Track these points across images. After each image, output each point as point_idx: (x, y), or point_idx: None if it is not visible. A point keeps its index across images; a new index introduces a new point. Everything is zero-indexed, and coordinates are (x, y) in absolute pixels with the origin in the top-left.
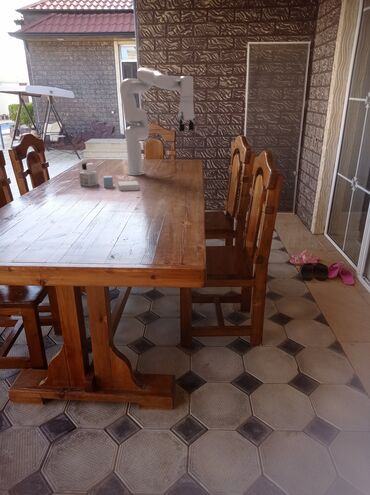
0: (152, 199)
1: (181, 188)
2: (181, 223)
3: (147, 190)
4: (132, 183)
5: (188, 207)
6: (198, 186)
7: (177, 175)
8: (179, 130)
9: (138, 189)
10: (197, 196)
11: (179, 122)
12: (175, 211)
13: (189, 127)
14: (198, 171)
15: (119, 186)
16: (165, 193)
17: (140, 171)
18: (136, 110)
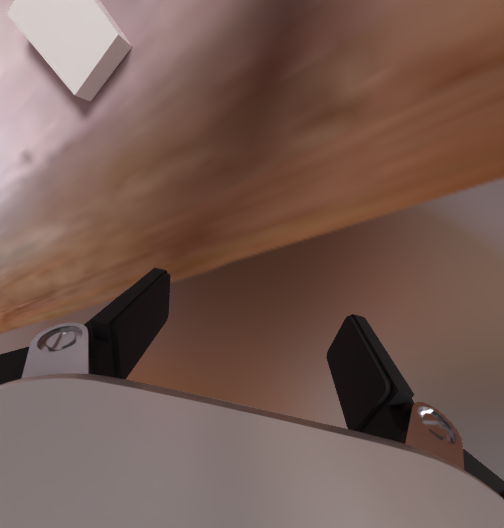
0: (43, 205)
1: (181, 228)
2: None
3: (103, 138)
4: (70, 52)
5: (56, 295)
6: (225, 262)
7: (384, 122)
8: (154, 268)
9: (88, 99)
10: None
11: (14, 361)
12: (20, 284)
13: (353, 343)
14: (493, 179)
15: (12, 18)
16: (110, 209)
17: None
18: None
